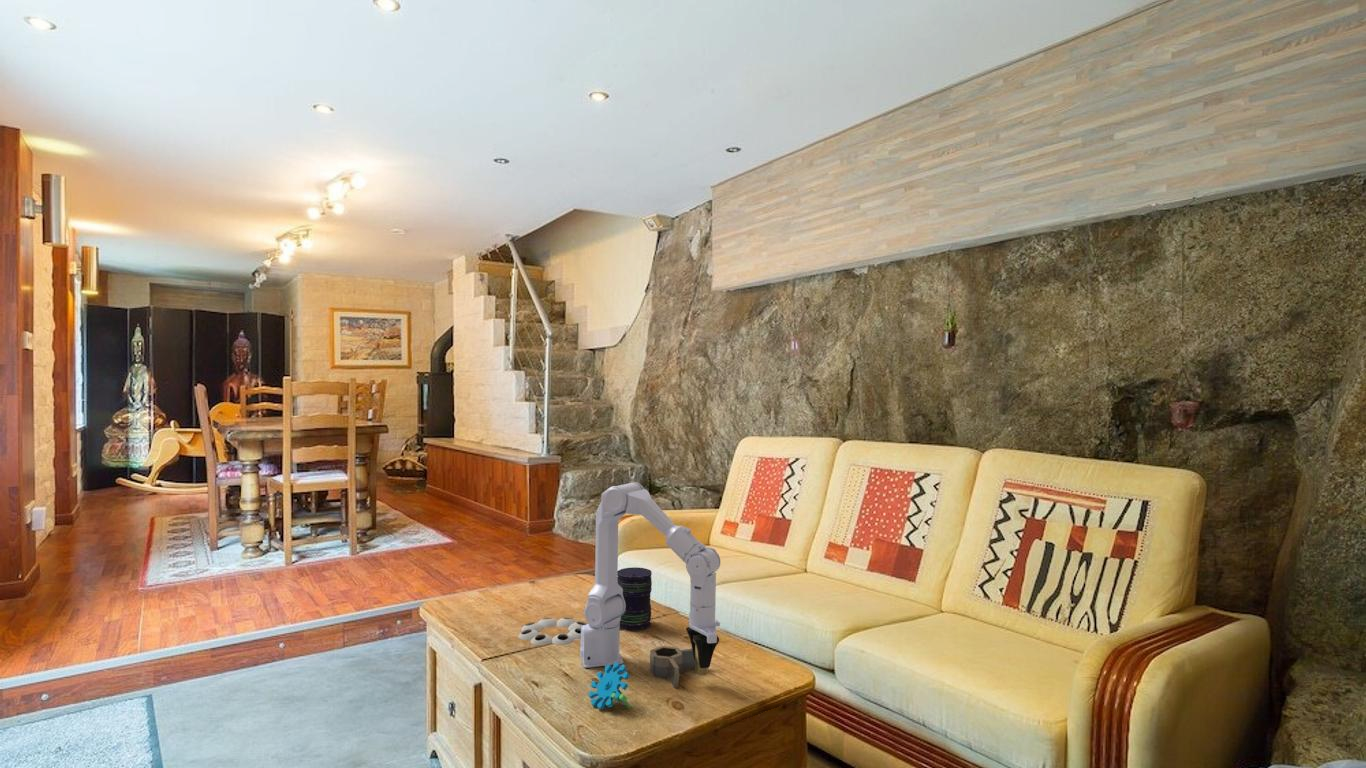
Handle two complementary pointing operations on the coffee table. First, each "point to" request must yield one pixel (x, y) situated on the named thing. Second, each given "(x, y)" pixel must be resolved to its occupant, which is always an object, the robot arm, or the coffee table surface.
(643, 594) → the storage jar
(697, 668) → the hinge pin
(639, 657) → the coffee table surface
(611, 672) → the gear
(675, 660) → the hinge
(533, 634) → the ring
